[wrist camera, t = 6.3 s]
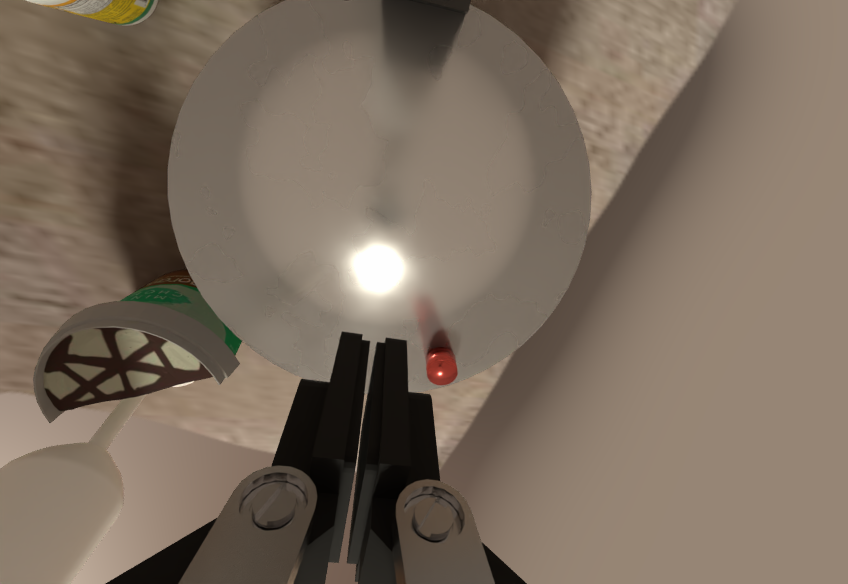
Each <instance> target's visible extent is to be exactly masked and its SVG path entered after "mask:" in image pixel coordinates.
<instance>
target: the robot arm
mask: <svg viewBox="0 0 848 584" xmlns="http://www.w3.org/2000/svg"><path fill="white" fill-rule="evenodd" d="M362 336H363V334H358V333H350V332H343V331H342V332H341V336H340V340H339V345H338V349H337V353H336V357H335V362H334V366H333V370H332V374H331V378H330V382H324V381H316V380H308V379H301V381H300V383H299V386H298V389H297V392H296V395H295V398H294V401H293V404H292V407H291V410H290V413H289V416H288V419H287V422H286V424H285V427H284V430H283V433H282V436H281V439H280V442H279V445H278V448H277V451H276V454H275V457H274V460H273V463H272V466H271V467H266V468H263V469H261V470H258V471H256V472H253V473H252V474H251V475H249V476H248V477H246V478H245V479H244V480H242V481H241V483H240V484H239V485H238V486H237V488H236V489H235V490H234V491H233V493H232V495H231V497H230V498H229V500H228V501H227V503H226V505H225V506H224V508H223V510H222V511H221V513H220V515H219V516H218V518H216V519H214V520H213V521H211V522H209V523H207V524H206V525H204V526H202V527H201V528H199V529H197V530H196V531H194V532H192V533H191V534H189V535H187V536H185V537H184V538H182V539H180V540H179V541H177V542H175V543H174V544H172V545H170V546H169V547H167V548H165V549H163V550H162V551H160V552H158V553H157V554H155V555H153V556H152V557H150V558H148V559H147V560H145V561H143V562H141V563H140V564H138V565H136V566H135V567H133V568H131V569H129V570H128V571H126V572H124V573H123V574H121V575H119V576H118V577H116V578H114V579H113V580H111V581H110V582H107V583H106V584H325V580H326V574H327V567H328V562H334V563H339V558H340V552H341V546H342V541H343V535H344V529H345V524H346V518H347V512H348V506H349V501H350V495H351V490H352V483H353V478H354V473H355V466H356V460H357V453H358V444H359V436H360V427H361V418H362V409H363V401H364V392H365V383H366V375H367V366H368V357H369V348H370V341H367V340H362ZM347 563H350V564H356V575H355V576H356V577H355V582H358V584H527V583H525V582H524V581H523V580H522V579H521V578H520V577H519V576H518V575H517V574H516V573H515V572H513V571H512V570H511V569H510V568H509V567H508V566H507V565H506V564H505V563H504V562H503V561H502V560H501V559H499V558H498V557H497V556H496V555H495V554H494V553H493V552H492V551H491V550H490V549H489V548H488V547H487V546H485V545H484V544H483V543H482V542H481V539H480V536H479V533H478V530H477V527H476V524H475V521H474V517H473V514H472V511H471V509H470V507H469V505H468V503H467V501H466V499H465V498H464V497H463V496H462V495H461V494H460V493H459V491H457V490H456V489H454V488H453V487H451V486H450V485H448V484H445V483H443V482H441V481H440V475H439V465H438V455H437V445H436V436H435V426H434V416H433V407H432V399H431V395H430V394H423V393H415V392H408V358H407V340H401V339H394V338H387V337H386V339H385V343H382V342H377V344H376V349H375V355H374V361H373V366H372V372H371V378H370V383H369V389H368V395H367V401H366V406H365V412H364V418H363V424H362V431H361V439H360V448H359V457H358V466H357V475H356V484H355V493H354V503H353V512H352V520H351V530H350V539H349V547H348V557H347Z"/></svg>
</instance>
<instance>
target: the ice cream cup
mask: <svg viewBox="0 0 848 584" xmlns="http://www.w3.org/2000/svg"><path fill="white" fill-rule="evenodd" d="M241 342H242V340H240V339H239V338H238V337H237V336H236V335H235V334H234V333H233V332H232V331H231V330H230V329H229V328H228V327H227V326H226V325H225V324H224V323H223V322H222V321H221V320H220V319H219V318H218V316H217V315H216V314H215V313H214V311H213V310H212V309H211V307H210V306H209V305H208V303H207V302H206V301H205V299H204V298H203V297H202V295H201V293H200V291H199V290H198V288H197V286H196V285H195V283H194V281H193V280H192V278H191V276H190V274H189V272H188V270H179V271H173V272H170V273H167V274H165V275H163V276H161V277H160V278H158V279H156V280H154V281H153V282H151V283H149V284H148V285H146V286H144V287H142V288H141V289H139V290H137V291H136V292H134V293H132V294H131V295H129V296H127V297H125V298H124V299H122V300H120V301H114V302H108V303H102V304H98V305H95V306H92V307H89V308H86V309H84V310H82V311H80V312H79V313H77V314H75V315H73V316H72V317H71V318H70V319H68V320H67V321H66V322H65V323H64V324H63V325H62V326H61V327H60V328H59V330H58V331H57V332H56V333H55V334H54V336H53V337H52V338H51V339H50V341H49V342H48V343H47V344H46V346H45V347H44V348H43V351H42V353H41V355H40V357H39V360H38V363H37V365H36V367H35V372H34V378H33V382H34V392H35V396H36V400H37V403H38V405H39V407H40V409H41V411H42V413H43V414H44V416H45V417H46V419H47V420H48V421H49V423H51V422H52V421H54V420H55V419H56V418H57V417H58V416H59V415H60V414H62V413H63V412H64V411H66V410H72V409H75V408H78V407H81V406H85V405H90V404H94V403H99V402H105V401H112V400H120V399H127V398H134V397H138V396H142V395H146V394H149V393H152V392H156V391H159V390H162V389H165V388H169V387H172V386H176V385H179V384H184V383H188V382H193V381H197V380H201V379H206V378H210V377H214V378H215V380H216V381H217V383H218V384H219V385H220V384H221V383H222V381H223V380H224V378H228V377H229V376H230V375H231V373H232V372H233V371H234V370H235V369H236V368H237V367H238V365H239V364H240V363H239V362H238V360H237V358H236V357H235V355H236V353H237V351H238V349H239V346H240V344H241Z"/></svg>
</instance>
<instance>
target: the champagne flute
mask: <svg viewBox="0 0 848 584" xmlns="http://www.w3.org/2000/svg"><path fill="white" fill-rule="evenodd" d="M193 382H194V381H193ZM193 382H188V383H184V384H179V385H176V386H172V387H180V386H184V385H188V384H190V383H193ZM145 396H146V395H142V396H138V397H134V398H127V399H122V400H121V401H120V403H119V404H118V405H117V406H116V408H115V409H114V410H113V412H112V413H111V414H110V416H109V417H108V418H107V419H106V420H105V422H104V423H103V424H102V426H101V427H100V428H99V430H98V431H97V432H96V433H95V435H94V436H93V437H92V438H91V440H90V441H89V442H88V443H74V444H66V445H57V446H51V447H46V448H43V449H40V450H37V451H34V452H31V453H28V454H26V455H24V456H21V457H19V458H17V459H15V460H13V461H11V462H9V463H8V464H6V465H5V466H4V467H2V468H1V469H0V584H71V583H72V581H73V580H74V578H75V577H76V576H77V574H78V573H79V571H80V570H81V569H82V567H83V566H84V564H85V563H86V562H87V560H88V558H89V557H90V556H91V555H92V553H93V552H94V550H95V549H96V548H97V546H98V545H99V543H100V542H101V541H102V539H103V538H104V536H105V535H106V533H107V532H108V531H109V529H110V528H111V526H112V525H113V524H114V522H115V521H116V519H117V518H118V516H119V514H120V512H121V510H122V507H123V502H124V486H123V482H122V477H121V473H120V471H119V470H118V468H117V466H116V464H115V462H114V461H113V459H112V457H111V455H110V454H109V453H108V451H106V450H107V449H108V447H109V446H110V444H111V443H112V442H113V440H114V439H115V437H116V436H117V435H118V433H119V432H120V430H121V429H122V428H123V426H124V425H125V424H126V422H127V421H128V419H129V418H130V417H131V415H132V414H133V412H134V411H135V410H136V408H137V407H138V405H139V404H140V403H141V401H142V400H143V399H144V397H145Z"/></svg>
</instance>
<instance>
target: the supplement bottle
mask: <svg viewBox="0 0 848 584" xmlns="http://www.w3.org/2000/svg"><path fill="white" fill-rule="evenodd" d="M26 1H29V2H32V3H35V4H39V5H43V6H47V7H50V8H55V9H58V10H63V11H66V12H70V13H74V14H78V15H81V16H85V17H89V18H93V19H97V20H100V21H105V22H108V23H112V24H117V25H123V26H129V25H135V24H138V23H140V22H142V21H144V20H145V19H147V18H148V17H149V16H150V15H151V14H152V13H153V11H154V10H155V8H156V6H157V3H158V0H26Z"/></svg>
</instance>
